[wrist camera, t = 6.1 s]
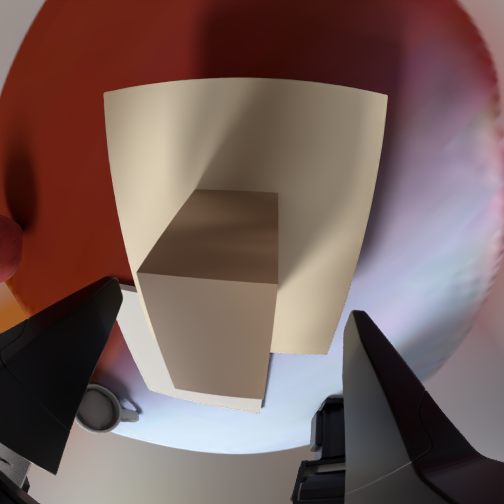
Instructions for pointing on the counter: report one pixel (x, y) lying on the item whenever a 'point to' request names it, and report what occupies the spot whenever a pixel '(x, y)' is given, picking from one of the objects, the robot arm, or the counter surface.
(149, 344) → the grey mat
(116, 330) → the counter surface
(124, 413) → the ceramic mug
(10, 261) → the onion
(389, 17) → the counter surface
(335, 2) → the counter surface
